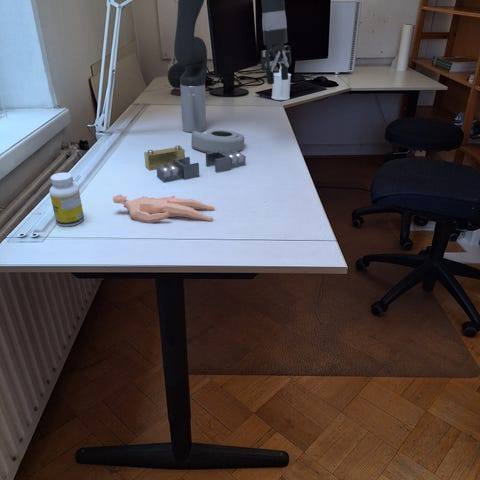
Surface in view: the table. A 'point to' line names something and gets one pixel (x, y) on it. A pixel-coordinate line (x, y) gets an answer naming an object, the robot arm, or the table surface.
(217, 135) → the turbocharger housing
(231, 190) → the table surface
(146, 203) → the male figurine
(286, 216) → the table surface
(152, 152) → the brass block with pins
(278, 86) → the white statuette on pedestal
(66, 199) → the pill bottle
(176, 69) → the dark grey lump
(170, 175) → the chain ends
